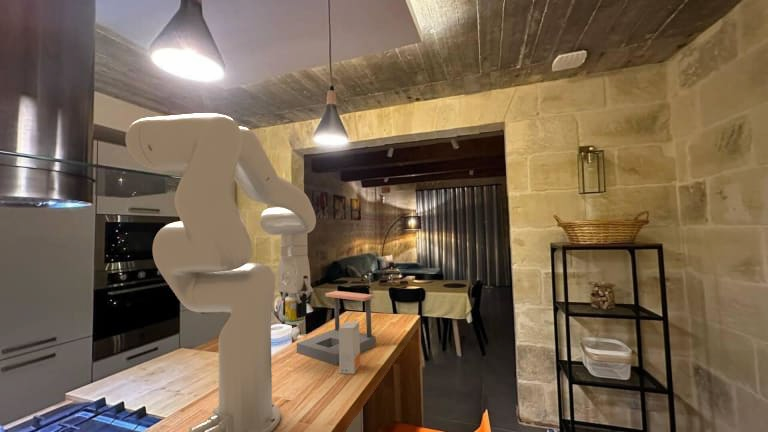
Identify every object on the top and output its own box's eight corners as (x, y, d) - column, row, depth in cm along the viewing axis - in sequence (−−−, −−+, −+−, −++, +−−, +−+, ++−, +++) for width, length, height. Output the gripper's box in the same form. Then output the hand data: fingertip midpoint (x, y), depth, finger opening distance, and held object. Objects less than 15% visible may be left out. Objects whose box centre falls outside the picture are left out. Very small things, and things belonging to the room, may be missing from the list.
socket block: (336, 365, 85) (334, 306, 86) (296, 352, 96) (295, 300, 97) (376, 345, 99) (374, 294, 100) (337, 336, 110) (336, 290, 111)
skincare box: (354, 374, 79) (353, 328, 80) (339, 373, 80) (337, 327, 80) (361, 364, 85) (359, 321, 86) (346, 364, 86) (345, 321, 86)
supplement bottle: (304, 323, 84) (304, 288, 85) (284, 325, 83) (284, 290, 84) (304, 319, 89) (303, 286, 90) (285, 321, 88) (285, 287, 89)
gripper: (266, 253, 90) (266, 315, 88) (302, 252, 80) (303, 322, 78) (287, 252, 96) (288, 310, 94) (323, 251, 86) (324, 316, 84)
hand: (294, 315), depth 86 cm, fingers closed on supplement bottle, 5 cm apart
